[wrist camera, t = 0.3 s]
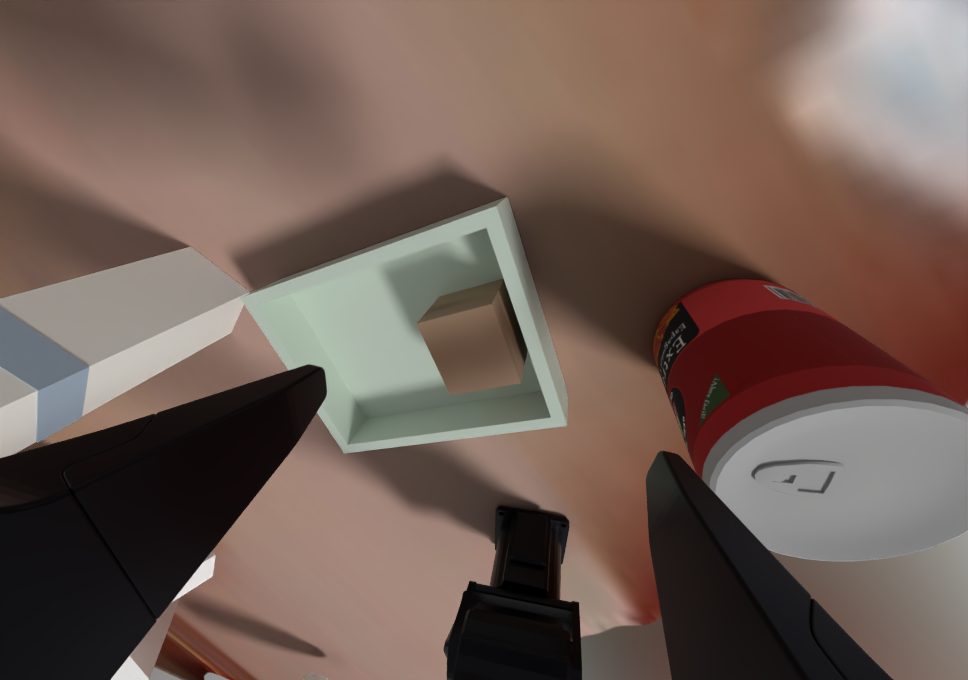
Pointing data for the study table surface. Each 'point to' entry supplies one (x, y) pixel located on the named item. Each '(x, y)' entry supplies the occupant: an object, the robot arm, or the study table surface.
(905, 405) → the canned food
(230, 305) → the carton
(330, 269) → the pale green tray
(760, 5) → the study table surface
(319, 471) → the study table surface
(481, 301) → the walnut block
